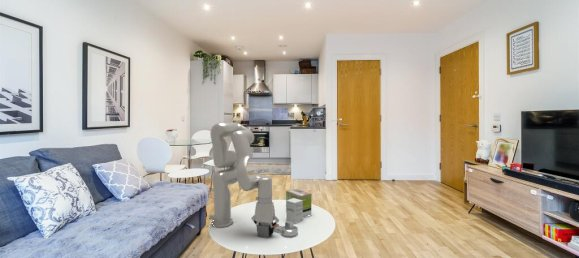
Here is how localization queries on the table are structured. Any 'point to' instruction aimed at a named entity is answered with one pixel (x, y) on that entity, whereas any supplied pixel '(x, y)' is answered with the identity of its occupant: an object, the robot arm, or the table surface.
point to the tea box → (301, 196)
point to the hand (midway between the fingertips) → (265, 233)
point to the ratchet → (287, 229)
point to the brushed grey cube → (263, 230)
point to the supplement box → (294, 210)
